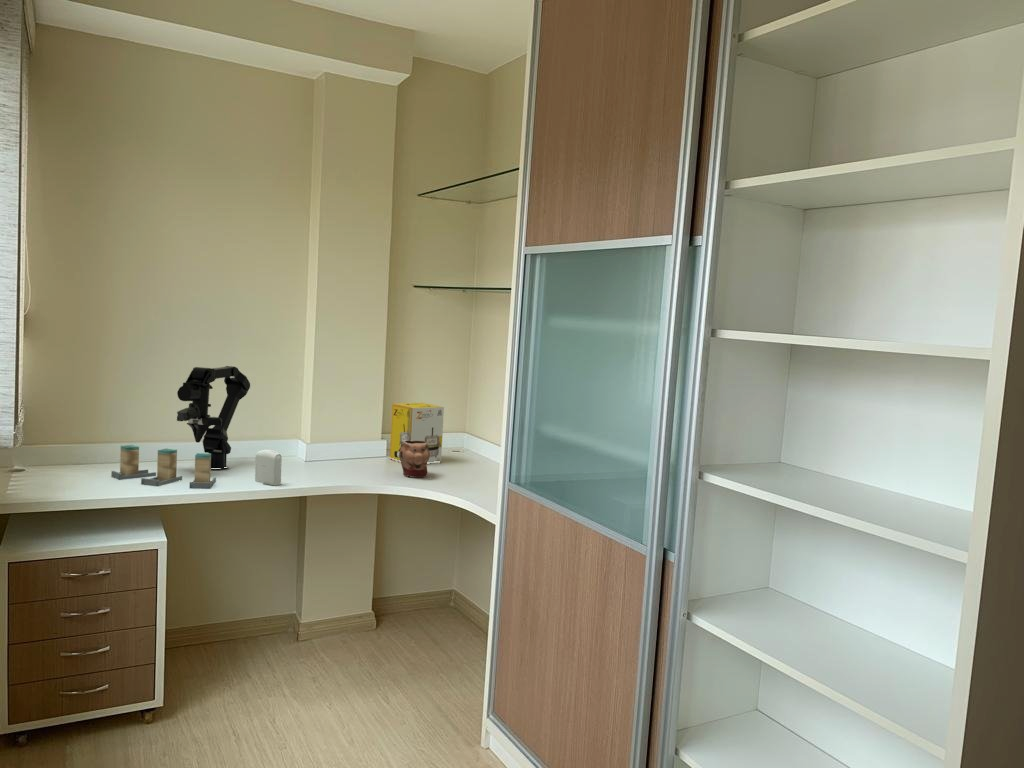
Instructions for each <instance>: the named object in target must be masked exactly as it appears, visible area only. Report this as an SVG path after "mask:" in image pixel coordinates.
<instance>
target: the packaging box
mask: <svg viewBox="0 0 1024 768" xmlns="http://www.w3.org/2000/svg"><path fill="white" fill-rule="evenodd" d="M391 405H392V407H391V421H390V422H391V423H390V443H389V444H390V445H389V458H390V457H391V458H394V459H397V460H400V459H399V452H400V449H401V448H402V444H403V442H404V441H424V442H426V443H427V446H428V449H429V452H430V458H429V460H428V462H434V461H441V462H442V452H443V451H442V448H443V433H444V432H443V428H444V413H445V411H444V410H445V407H443V406H439V405H435V404H429V403H425V402H404V403H403V402H402V403H401V402H400V403H399V402H398V403H391Z"/></svg>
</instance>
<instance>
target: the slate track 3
mask: <svg viewBox="0 0 1024 768" xmlns="http://www.w3.org/2000/svg"><path fill="white" fill-rule="evenodd" d="M194 481H195V478H193V481H189V489H197V490H199V489H202V490H203V489H204V490H210V489H212V487H213V486H214V484H215V483H216V481H217V477H213V478H212V479H211V480H210V482H194Z"/></svg>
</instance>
